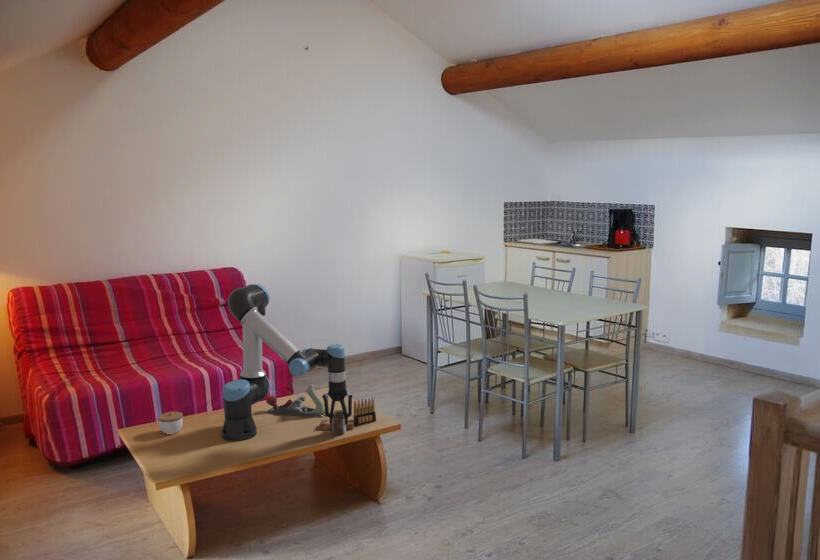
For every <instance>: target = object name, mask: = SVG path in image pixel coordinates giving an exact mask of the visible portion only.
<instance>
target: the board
mask: <svg viewBox="0 0 820 560" xmlns="http://www.w3.org/2000/svg"><path fill="white" fill-rule="evenodd" d="M318 427H319V430H332V425H330V419H321V420H320V421H319V426H318ZM354 428H355V424H354V420H353V419H348V424H347V425H346V430H354Z"/></svg>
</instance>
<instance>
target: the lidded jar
mask: <svg viewBox="0 0 820 560" xmlns="http://www.w3.org/2000/svg"><path fill="white" fill-rule="evenodd" d="M183 416H184V415H183V412H179V411H168V412H164V413H161V414H159V415H158V416H157V423H158V427H159V430H160V431H162V433H164V434H165V433H175V432H178V431H180V430H181V429H182V428H183V423H184V417H183ZM178 433H179V432H178Z"/></svg>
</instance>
